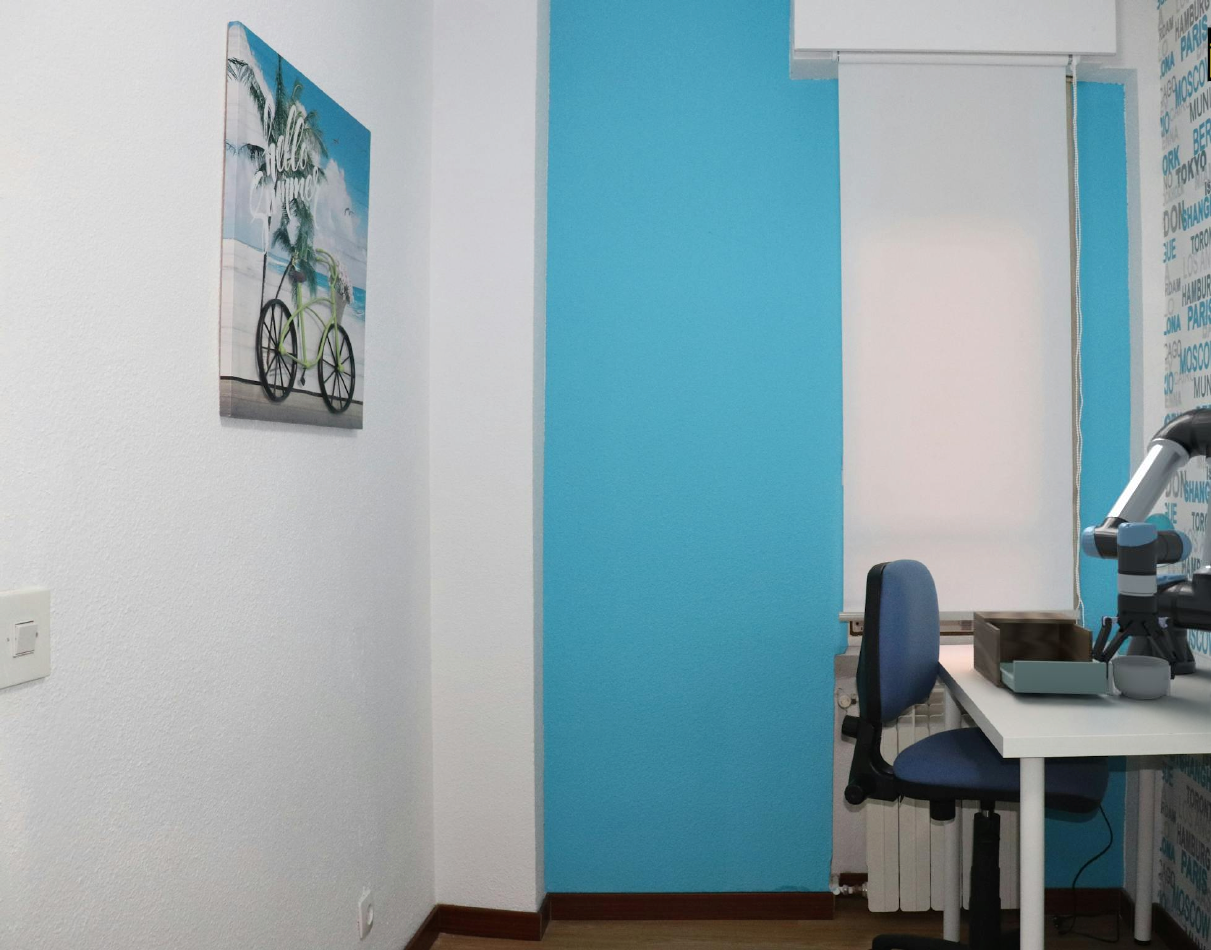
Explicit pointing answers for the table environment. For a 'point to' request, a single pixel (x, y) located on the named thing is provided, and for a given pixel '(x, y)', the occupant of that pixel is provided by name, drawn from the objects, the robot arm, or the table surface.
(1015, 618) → the cubby
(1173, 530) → the robot arm
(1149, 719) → the table surface
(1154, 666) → the teacup
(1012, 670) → the drawer
